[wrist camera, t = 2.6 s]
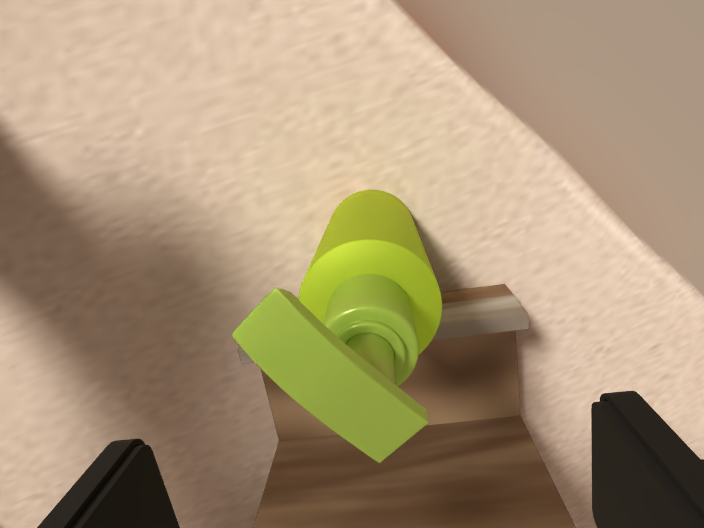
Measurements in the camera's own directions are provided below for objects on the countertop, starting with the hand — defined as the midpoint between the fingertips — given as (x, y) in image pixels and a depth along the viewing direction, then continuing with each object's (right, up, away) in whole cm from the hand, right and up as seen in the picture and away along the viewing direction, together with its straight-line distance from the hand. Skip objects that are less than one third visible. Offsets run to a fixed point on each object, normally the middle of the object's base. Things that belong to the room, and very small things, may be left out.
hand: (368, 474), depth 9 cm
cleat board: (+2, -3, +24) cm, 25 cm away
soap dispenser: (+1, +7, +21) cm, 22 cm away
